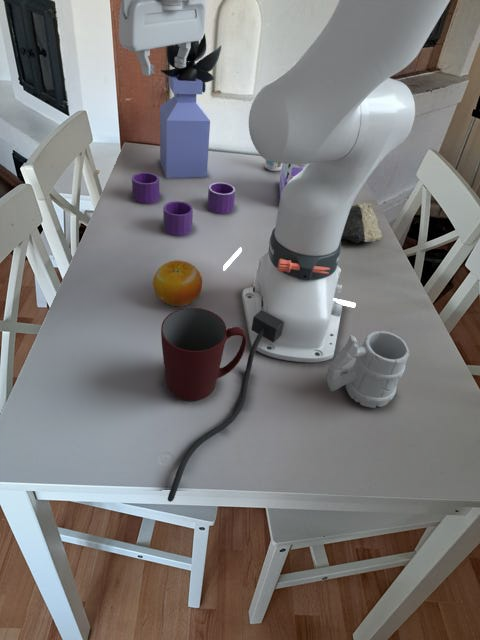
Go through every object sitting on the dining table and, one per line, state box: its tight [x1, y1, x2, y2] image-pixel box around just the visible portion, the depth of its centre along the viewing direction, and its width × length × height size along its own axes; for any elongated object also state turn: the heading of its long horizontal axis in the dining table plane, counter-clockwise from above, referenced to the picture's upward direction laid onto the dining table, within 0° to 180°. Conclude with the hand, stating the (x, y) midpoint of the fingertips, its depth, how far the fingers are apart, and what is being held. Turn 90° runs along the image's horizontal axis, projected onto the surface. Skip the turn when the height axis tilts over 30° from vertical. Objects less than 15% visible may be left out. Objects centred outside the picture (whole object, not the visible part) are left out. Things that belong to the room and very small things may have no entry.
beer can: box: [264, 159, 283, 172], centre depth 129 cm, size 5×5×12 cm
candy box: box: [278, 163, 307, 197], centre depth 116 cm, size 14×6×16 cm, turn 179°
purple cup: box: [131, 171, 160, 205], centre depth 111 cm, size 6×6×5 cm
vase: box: [159, 33, 222, 179], centre depth 116 cm, size 14×12×35 cm
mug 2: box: [326, 330, 410, 409], centre depth 69 cm, size 8×12×12 cm, turn 102°
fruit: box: [152, 260, 203, 307], centre depth 83 cm, size 8×8×8 cm
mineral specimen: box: [341, 202, 383, 243], centre depth 107 cm, size 13×7×15 cm
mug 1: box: [160, 307, 248, 402], centre depth 68 cm, size 12×9×11 cm
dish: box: [162, 200, 194, 237], centre depth 102 cm, size 6×6×5 cm
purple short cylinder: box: [207, 181, 236, 215], centre depth 111 cm, size 6×6×5 cm
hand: (164, 71), depth 91 cm, fingers open, 8 cm apart
